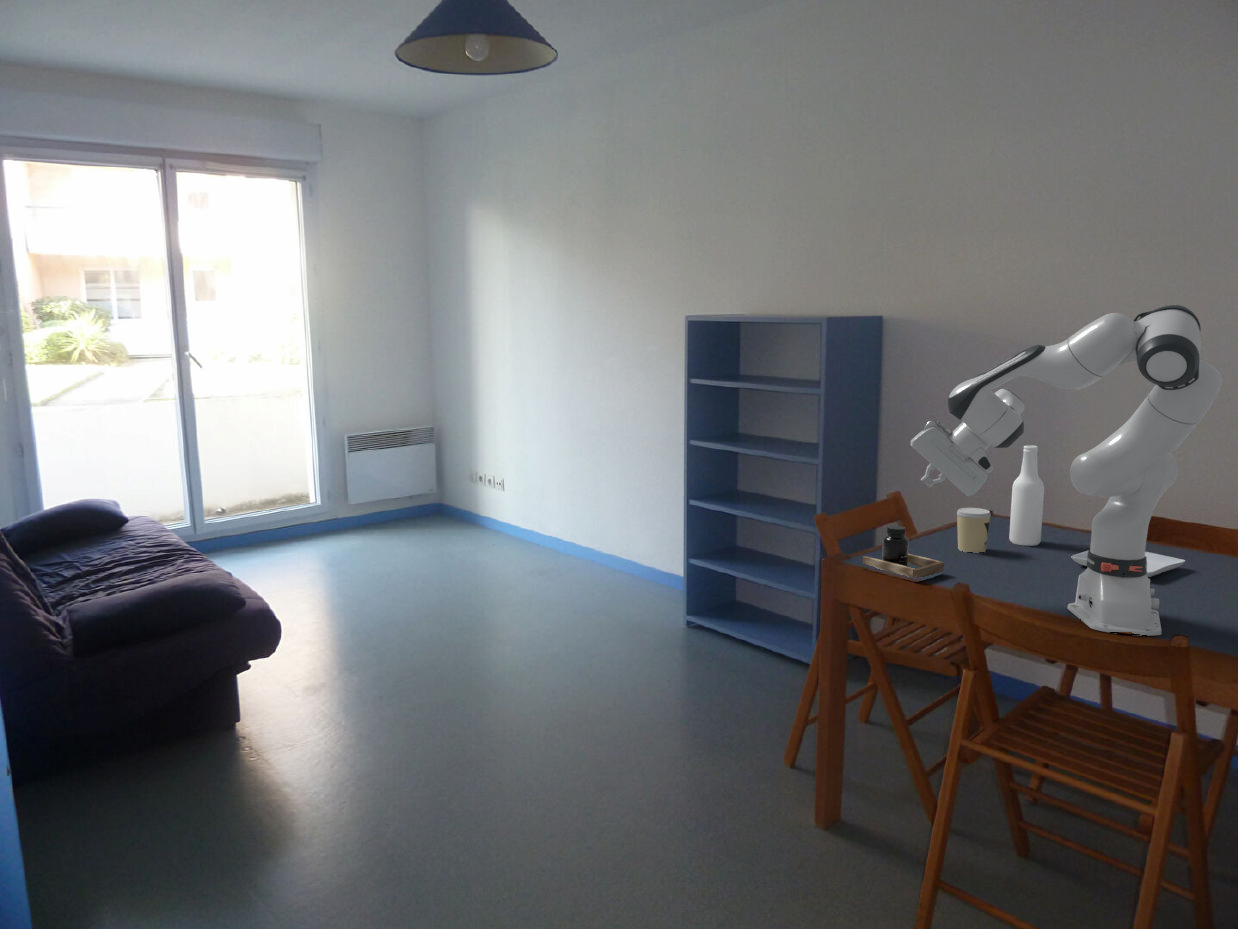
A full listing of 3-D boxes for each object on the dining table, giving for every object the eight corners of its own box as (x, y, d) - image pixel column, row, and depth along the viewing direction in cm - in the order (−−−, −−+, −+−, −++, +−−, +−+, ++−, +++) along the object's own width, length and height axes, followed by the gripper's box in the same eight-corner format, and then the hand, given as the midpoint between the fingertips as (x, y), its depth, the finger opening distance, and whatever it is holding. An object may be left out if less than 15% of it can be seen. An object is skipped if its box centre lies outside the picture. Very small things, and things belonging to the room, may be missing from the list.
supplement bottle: (907, 574, 236) (909, 531, 234) (881, 572, 238) (882, 529, 236) (907, 567, 242) (909, 525, 240) (882, 565, 245) (883, 523, 243)
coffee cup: (992, 554, 254) (994, 514, 252) (958, 553, 256) (960, 513, 254) (984, 546, 263) (986, 507, 261) (951, 545, 265) (953, 507, 263)
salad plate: (1106, 554, 254) (1106, 543, 253) (1186, 571, 237) (1187, 558, 236) (1068, 567, 242) (1068, 555, 241) (1149, 585, 225) (1150, 572, 224)
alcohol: (1003, 539, 271) (1009, 444, 266) (1031, 538, 271) (1037, 443, 266) (1017, 546, 262) (1024, 448, 257) (1046, 546, 263) (1053, 447, 258)
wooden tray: (943, 574, 235) (944, 562, 235) (916, 583, 228) (916, 570, 227) (889, 561, 249) (890, 549, 248) (862, 569, 241) (862, 556, 241)
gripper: (936, 417, 215) (895, 457, 218) (998, 473, 214) (957, 513, 217) (932, 414, 221) (893, 454, 224) (993, 469, 220) (953, 508, 223)
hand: (925, 483), depth 221 cm, fingers closed
